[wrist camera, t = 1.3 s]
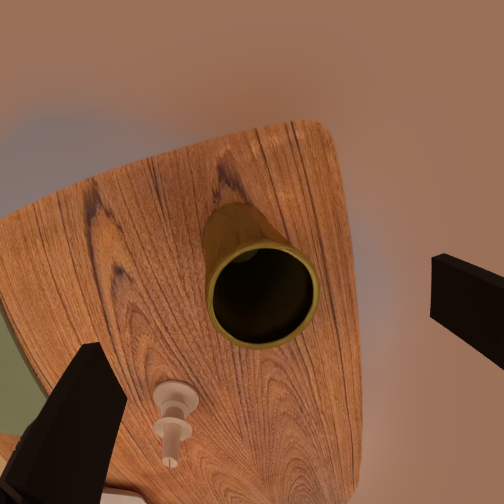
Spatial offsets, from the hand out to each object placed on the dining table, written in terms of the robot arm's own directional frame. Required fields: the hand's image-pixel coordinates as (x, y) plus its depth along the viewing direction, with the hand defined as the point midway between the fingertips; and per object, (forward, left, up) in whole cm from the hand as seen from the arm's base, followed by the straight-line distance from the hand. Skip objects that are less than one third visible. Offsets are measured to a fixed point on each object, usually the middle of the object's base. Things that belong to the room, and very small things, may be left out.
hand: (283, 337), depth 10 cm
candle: (+18, +7, -18) cm, 26 cm away
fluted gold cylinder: (0, 0, -18) cm, 18 cm away
